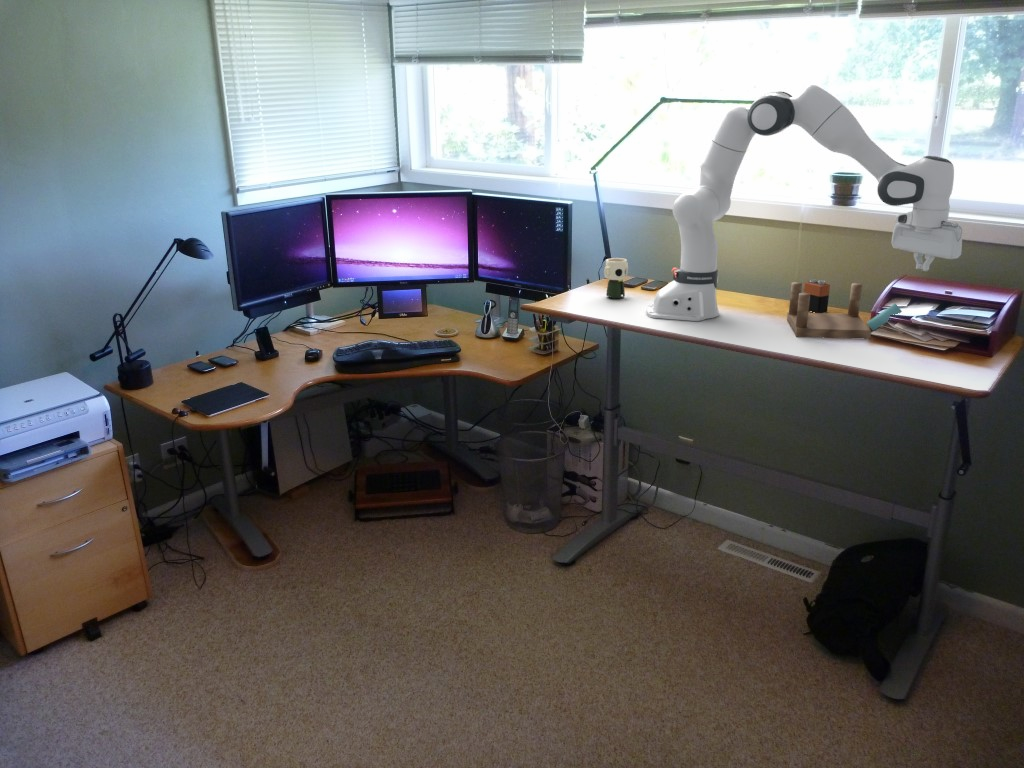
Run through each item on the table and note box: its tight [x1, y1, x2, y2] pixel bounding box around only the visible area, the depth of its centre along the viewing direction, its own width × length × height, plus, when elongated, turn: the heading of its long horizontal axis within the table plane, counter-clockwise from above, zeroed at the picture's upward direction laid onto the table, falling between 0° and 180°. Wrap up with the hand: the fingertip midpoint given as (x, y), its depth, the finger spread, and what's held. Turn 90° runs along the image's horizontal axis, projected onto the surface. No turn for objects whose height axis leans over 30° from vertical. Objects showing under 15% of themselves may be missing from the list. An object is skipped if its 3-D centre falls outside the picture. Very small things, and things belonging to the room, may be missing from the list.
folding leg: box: [865, 303, 903, 332], centre depth 235 cm, size 3×3×9 cm
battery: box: [802, 278, 831, 313], centre depth 263 cm, size 4×7×10 cm, turn 32°
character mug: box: [603, 257, 629, 299], centre depth 283 cm, size 11×7×13 cm, turn 128°
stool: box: [786, 281, 872, 340], centre depth 243 cm, size 20×18×12 cm
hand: (922, 270), depth 229 cm, fingers closed
